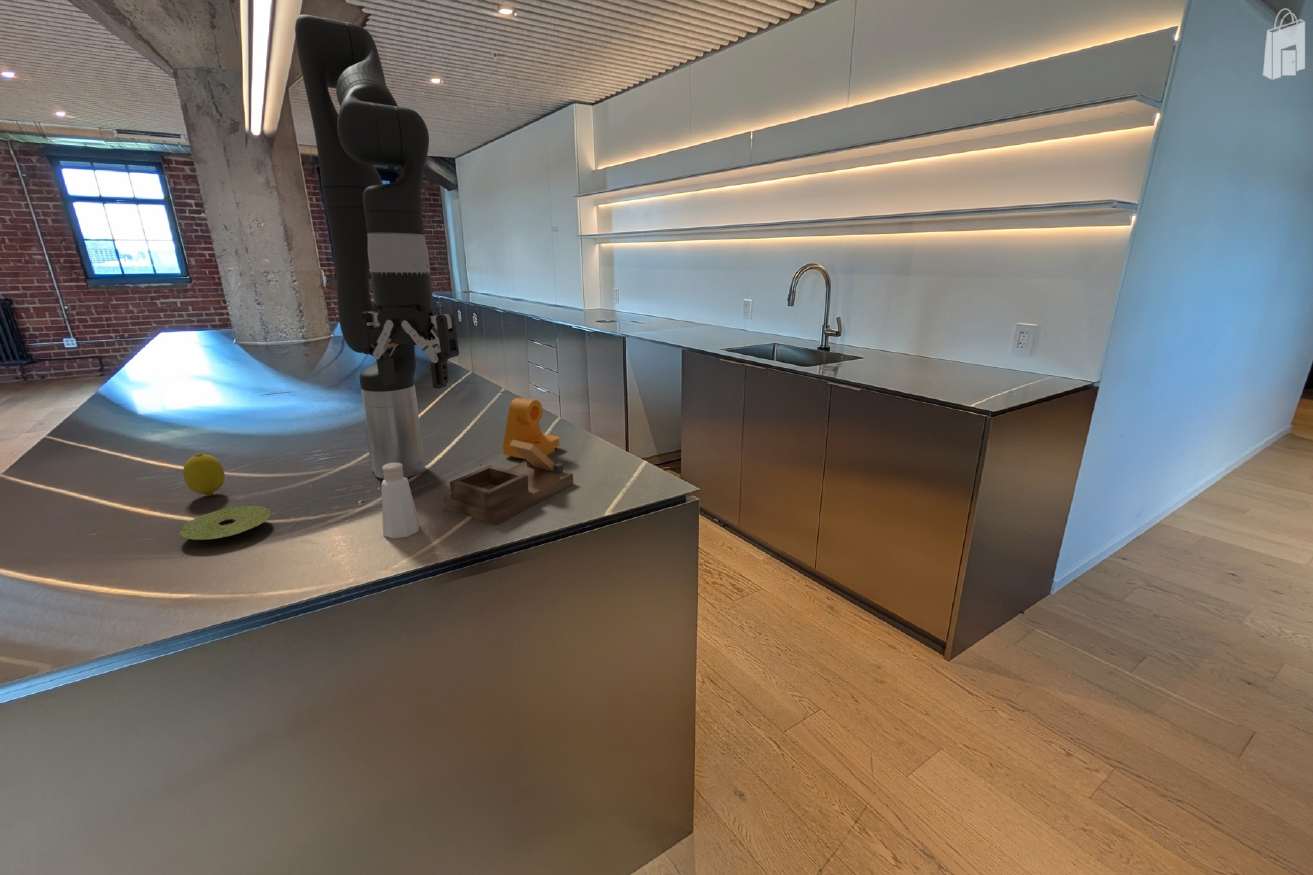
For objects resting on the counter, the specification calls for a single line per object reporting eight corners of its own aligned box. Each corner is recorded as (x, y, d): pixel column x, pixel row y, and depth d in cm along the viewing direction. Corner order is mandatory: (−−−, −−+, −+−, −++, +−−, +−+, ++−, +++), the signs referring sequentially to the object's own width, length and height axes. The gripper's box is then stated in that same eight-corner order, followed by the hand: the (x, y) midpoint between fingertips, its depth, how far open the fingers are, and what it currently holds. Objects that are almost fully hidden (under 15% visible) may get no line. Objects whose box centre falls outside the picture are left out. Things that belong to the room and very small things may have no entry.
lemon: (186, 504, 95) (174, 460, 93) (193, 492, 100) (182, 450, 98) (226, 498, 98) (215, 455, 95) (231, 487, 103) (221, 446, 100)
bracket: (531, 463, 116) (528, 407, 112) (503, 458, 119) (499, 403, 115) (561, 448, 125) (558, 396, 122) (534, 443, 128) (531, 392, 125)
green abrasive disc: (262, 543, 83) (259, 531, 83) (169, 556, 79) (165, 544, 79) (280, 511, 93) (278, 501, 93) (199, 522, 89) (196, 510, 89)
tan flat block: (509, 445, 102) (512, 439, 102) (534, 467, 109) (538, 461, 109) (530, 450, 99) (533, 443, 100) (555, 472, 107) (558, 466, 107)
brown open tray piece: (444, 507, 95) (441, 480, 94) (525, 471, 112) (523, 447, 110) (495, 524, 90) (493, 496, 88) (573, 483, 106) (572, 458, 105)
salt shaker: (426, 523, 90) (418, 459, 86) (409, 540, 85) (399, 472, 81) (394, 521, 90) (385, 457, 87) (375, 538, 85) (364, 470, 82)
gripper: (462, 270, 78) (472, 384, 83) (375, 268, 82) (390, 378, 87) (428, 270, 71) (441, 394, 76) (335, 269, 75) (353, 388, 80)
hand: (414, 385), depth 81 cm, fingers open, 8 cm apart
